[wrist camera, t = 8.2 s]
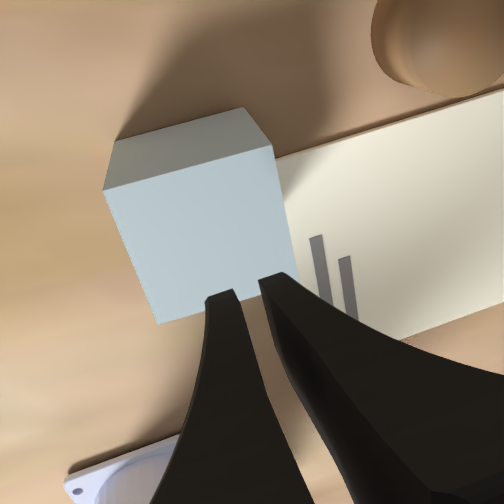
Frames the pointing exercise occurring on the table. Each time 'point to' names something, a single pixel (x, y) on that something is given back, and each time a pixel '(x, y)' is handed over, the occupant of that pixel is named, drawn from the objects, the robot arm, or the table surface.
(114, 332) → the table surface
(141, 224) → the cube
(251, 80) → the table surface
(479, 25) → the wooden cylinder
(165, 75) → the table surface
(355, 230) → the letter
